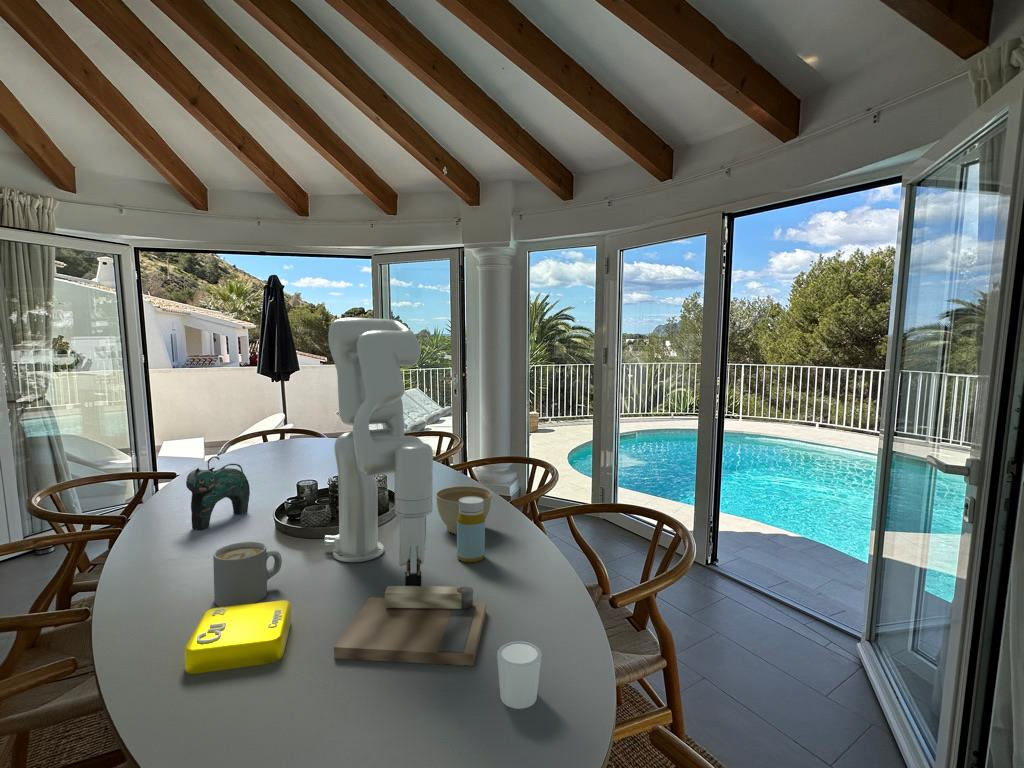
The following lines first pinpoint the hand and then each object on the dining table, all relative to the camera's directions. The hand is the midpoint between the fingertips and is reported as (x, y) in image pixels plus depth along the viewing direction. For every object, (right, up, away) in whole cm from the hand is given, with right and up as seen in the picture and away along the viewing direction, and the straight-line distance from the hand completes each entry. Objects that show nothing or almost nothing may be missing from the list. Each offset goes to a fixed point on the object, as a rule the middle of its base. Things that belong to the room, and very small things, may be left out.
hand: (413, 592), depth 109 cm
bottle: (+10, -2, +26) cm, 28 cm away
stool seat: (+2, -4, -10) cm, 11 cm away
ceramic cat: (-68, +1, +51) cm, 85 cm away
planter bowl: (+6, 0, +46) cm, 47 cm away
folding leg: (+4, -1, -3) cm, 5 cm away
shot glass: (+21, -6, -27) cm, 35 cm away
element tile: (-28, -5, -14) cm, 31 cm away
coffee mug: (-36, -3, +5) cm, 36 cm away
